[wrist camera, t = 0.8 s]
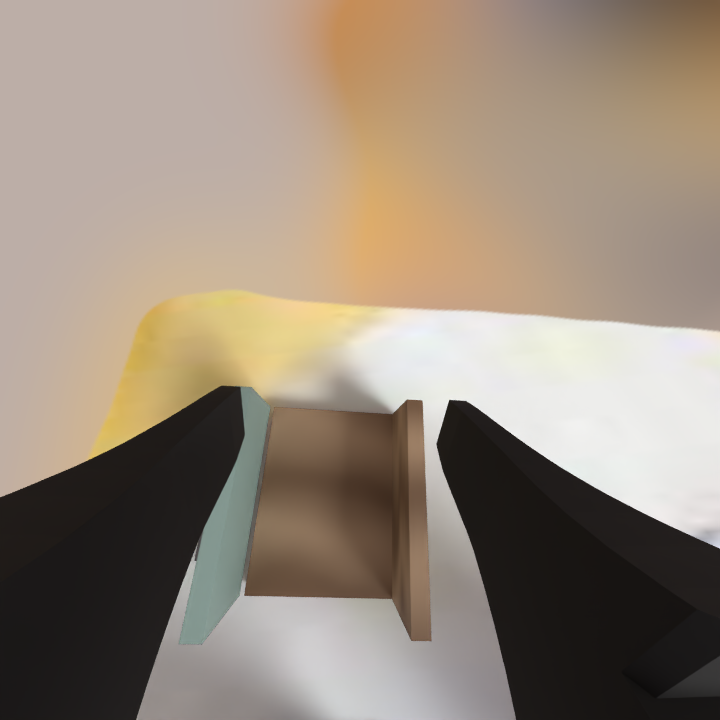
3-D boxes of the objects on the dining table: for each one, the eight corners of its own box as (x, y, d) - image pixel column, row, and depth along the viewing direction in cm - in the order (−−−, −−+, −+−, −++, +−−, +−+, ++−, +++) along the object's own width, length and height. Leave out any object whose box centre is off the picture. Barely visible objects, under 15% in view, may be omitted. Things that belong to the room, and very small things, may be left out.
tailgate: (239, 595, 18) (201, 644, 13) (218, 594, 18) (171, 644, 13) (270, 406, 22) (251, 387, 17) (253, 405, 22) (229, 385, 17)
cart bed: (402, 590, 20) (431, 640, 14) (250, 586, 19) (213, 638, 13) (400, 418, 24) (422, 400, 18) (277, 410, 24) (258, 389, 18)
